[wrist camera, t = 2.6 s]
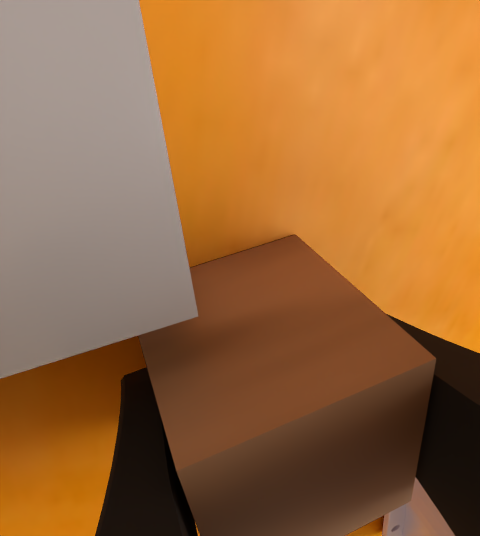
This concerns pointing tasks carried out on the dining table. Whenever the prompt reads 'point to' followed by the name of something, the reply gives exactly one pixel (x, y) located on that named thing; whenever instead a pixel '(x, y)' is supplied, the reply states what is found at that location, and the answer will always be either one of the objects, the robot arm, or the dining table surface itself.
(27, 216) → the stone slab
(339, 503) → the walnut block
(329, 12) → the dining table surface
